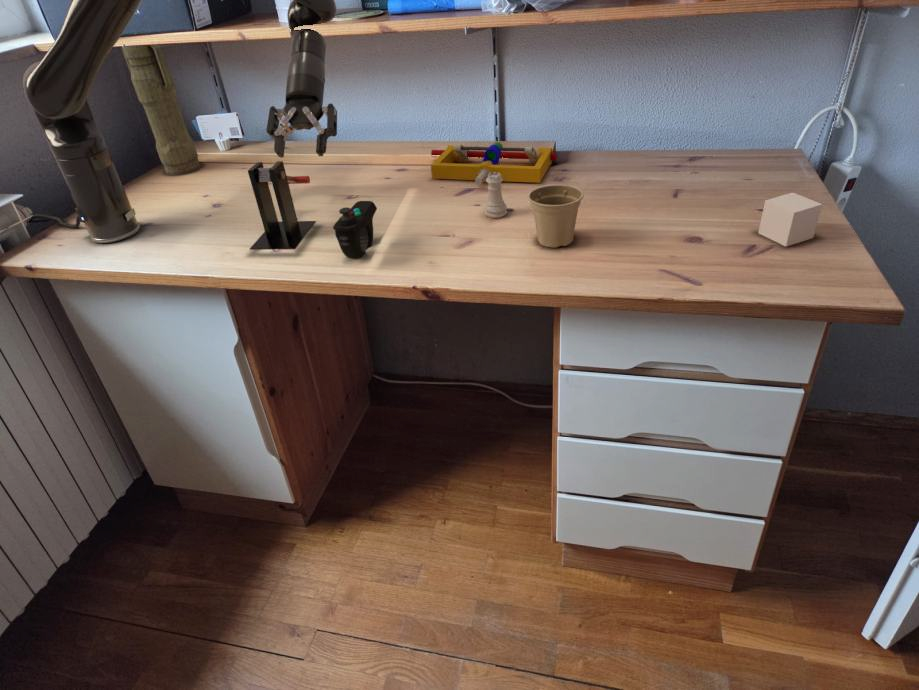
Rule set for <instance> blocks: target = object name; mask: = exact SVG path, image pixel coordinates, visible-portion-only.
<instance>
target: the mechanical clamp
mask: <svg viewBox="0 0 919 690" xmlns="http://www.w3.org/2000/svg"><path fill="white" fill-rule="evenodd" d="M553 151H554V149H553V148H552V147H537V148H536V149H535V148H534V146H532V145H531V146H530V145H526V146H525V147H505V146H503V145H502V143H501V142H498V141H497V142H494V143H493V144H491V145H489V146H466V145H465V146H464V145H462V144H453V145H450V144H449V145H447V146H446V149H431V151H430V155H431V156H432V155H440V156H439V157H437V158H436V159H435V160H434V161H433V162H432V163H431V164H430V171H431V178H432V179H442V180H443V179H444V180H464V181H465V180H468V181H474V183H475V184H476V185H477V186H480V185H481V184H482V183H487V182H486V179H487V177H488V176H487V175H489V173H492V175H493V172H496V175H497V173H500V174H501V177H502V178H503V180H502V182H514V183H515V182H516V183H517V182H518V183H536V184H538V183H541V181H542V180H543V178H544V176H545V174H546V173H547V171H548V169H549V168H550V166H551V165H552V164H553V161H557V159H558V153H557V152H553ZM468 157H469V158H468ZM470 157H478V158H477V159H482V162H481V163H462V161H469V160H470ZM480 157H481V158H480ZM483 157H484V158H483ZM502 157H503V158H508V159H507V160H528V162H529V163H535V164H534V165H513V164H512V165H511V164H500V160H501V159H502Z"/></svg>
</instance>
